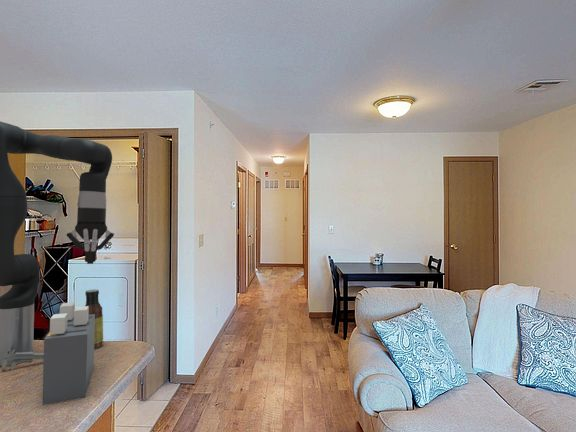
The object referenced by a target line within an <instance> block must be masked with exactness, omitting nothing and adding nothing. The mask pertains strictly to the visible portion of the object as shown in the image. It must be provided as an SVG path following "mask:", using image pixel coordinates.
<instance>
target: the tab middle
mask: <svg viewBox="0 0 576 432" xmlns="http://www.w3.org/2000/svg"><path fill="white" fill-rule="evenodd" d="M88 313H89V306H85V305H84V306H83V305H82V306H75V310H74V325H84V324H87V322H88Z"/></svg>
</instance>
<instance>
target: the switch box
mask: <svg viewBox="0 0 576 432" xmlns="http://www.w3.org/2000/svg"><path fill="white" fill-rule="evenodd" d="M94 335H95V314H89V315H88V322H87V324H84V325H74V317H73V319H72V320H67V329H66V331H65V333H63V334H54V335H50V331H49V332H48V333H47V334H46V336H45V337H44V339H43V353H44V359H43V362H42V363H43V369H42V370H43V372H42V404H41V405H42V406H46V405H51V404H56V403H62V402H67V401H74V400H78V399H84V398H86V397H87V394H88V390H89V386H90V382H91V378H92V374H93V371H94V366H95V364H94V363H95V349H94Z"/></svg>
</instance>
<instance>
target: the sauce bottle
mask: <svg viewBox="0 0 576 432" xmlns="http://www.w3.org/2000/svg"><path fill="white" fill-rule="evenodd" d="M99 290H100V289H94V288H93V289H88V290H85V293H84V294H85V299H86V301H85V305H84V306H89V313H88V315H89V314H95V335H94V350H95V349H98V348H100V347H102V346H103V344H104V318H103V317H104V315H103V307H102V305H101V304H100V302H99V301H100V300H99V294H100V291H99Z"/></svg>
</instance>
